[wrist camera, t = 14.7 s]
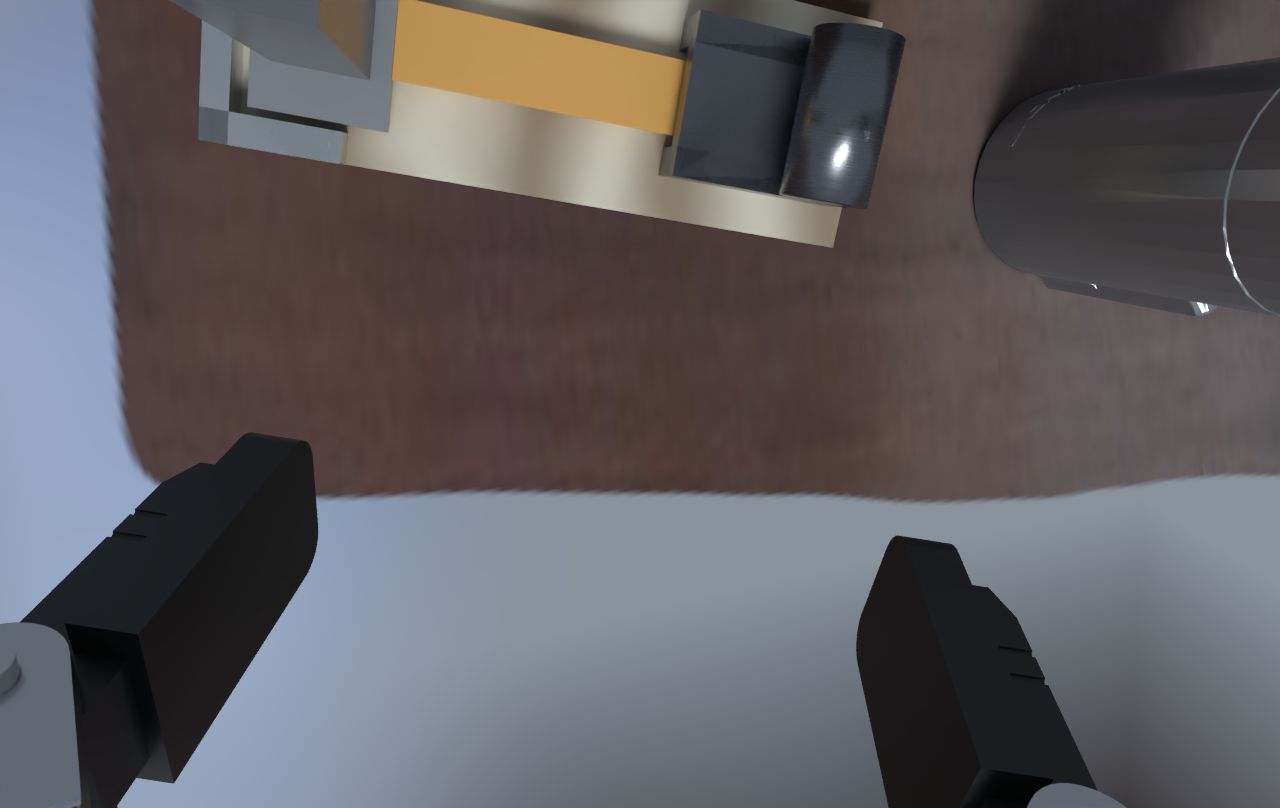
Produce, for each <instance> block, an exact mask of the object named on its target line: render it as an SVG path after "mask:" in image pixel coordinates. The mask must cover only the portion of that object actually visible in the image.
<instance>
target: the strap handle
mask: <svg viewBox="0 0 1280 808" xmlns="http://www.w3.org/2000/svg"><path fill="white" fill-rule="evenodd" d="M170 1H171V2H173V3H175V4H176V5H178V6H180V7H181V8H183V9H185V10H186V11H188V12H190V13H191V14H193V15H195V16H196V17H198V18H200V19H201V20H203V21H205V22H206V23H208V24H210V25H211V26H213V27H215V28H217V29H218V30H220V31H222V32H223V33H225V34H227V35H228V36H230V37H232V38H233V39H235V40H237V41H238V42H240V43H242V44H243V45H245V46H247V47H248V48H250V57H249V78H248V99H247V107H251V108H254V109H258V110H264V111H269V112H275V113H280V114H286V115H291V116H297V117H302V118H308V119H313V120H319V121H324V122H330V123H335V124H341V125H346V126H352V127H357V128H362V129H368V130H373V131H379V132H384V133H389V122H390V111H391V100H392V88H393V81H398V82H403V83H408V84H413V85H418V86H423V87H428V88H433V89H438V90H443V91H448V92H454V93H459V94H464V95H469V96H474V97H479V98H484V99H489V100H494V101H499V102H504V103H509V104H514V105H519V106H524V107H529V108H534V109H539V110H544V111H549V112H554V113H559V114H564V115H569V116H574V117H579V118H585V119H590V120H595V121H600V122H605V123H610V124H615V125H620V126H625V127H630V128H635V129H640V130H645V131H650V132H655V133H660V134H665V135H670V136H673V135H674V129H675V123H676V118H677V112H678V106H679V100H680V94H681V88H682V82H683V76H684V71H685V65H686V61H685V60H680V59H676V58H672V57H667V56H663V55H658V54H654V53H649V52H645V51H640V50H636V49H631V48H627V47H622V46H618V45H613V44H609V43H605V42H600V41H596V40H591V39H587V38H582V37H578V36H573V35H569V34H564V33H560V32H555V31H551V30H547V29H542V28H538V27H533V26H529V25H524V24H520V23H515V22H511V21H506V20H502V19H497V18H493V17H488V16H484V15H480V14H475V13H471V12H466V11H462V10H457V9H453V8H448V7H444V6H439V5H435V4H430V3H426V2H421V1H417V0H170Z"/></svg>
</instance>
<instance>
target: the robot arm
mask: <svg viewBox="0 0 1280 808" xmlns="http://www.w3.org/2000/svg"><path fill="white" fill-rule="evenodd" d="M974 205H975V212H976V218H977V222H978V225H979V228H980V230H981V233H982V236H983V238H984V239H985V241H986V243H987V244H988V246H989V247H990V249H991V250H992V252H993V253H995V254H996V255H997V256H998V257H999V258H1000V259H1001V260H1002V261H1003V262H1004V263H1006V264H1008V265H1010V266H1012V267H1013V268H1015V269H1017V270H1021V271H1025V272H1029V273H1033V274H1036V275H1039V276H1040V278H1041V279H1042V280H1043V281H1044V283H1045V284H1046V286H1047V287H1048V288H1050V289H1055V290H1060V291H1066V292H1071V293H1076V294H1081V295H1086V296H1091V297H1096V298H1102V299H1107V300H1112V301H1117V302H1122V303H1127V304H1132V305H1137V306H1143V307H1148V308H1153V309H1158V310H1163V311H1168V312H1173V313H1178V314H1184V315H1189V316H1197V317H1200V316H1205V315H1207V314H1209V313H1211V312H1212V311H1214V310H1215V309H1216V308H1217V307H1218V306H1221V307H1227V308H1233V309H1238V310H1244V311H1250V312H1256V313H1261V314H1267V315H1273V316H1279V317H1280V57H1278V58H1271V59H1264V60H1257V61H1250V62H1243V63H1236V64H1229V65H1221V66H1214V67H1207V68H1200V69H1193V70H1186V71H1179V72H1172V73H1165V74H1158V75H1151V76H1144V77H1136V78H1129V79H1122V80H1115V81H1108V82H1101V83H1094V84H1087V85H1074V86H1070V87H1066V88H1060V89H1054V90H1049V91H1044V92H1042V93H1040V94H1038V95H1035V96H1033V97H1031V98H1029V99H1027V100H1026V101H1024V102H1023V103H1021V104H1020V105H1019V106H1017V107H1016V108H1015V109H1013V110H1012V111H1011V112H1010V113H1009V114H1008V115H1007V116H1006V117H1005V119H1004V120H1003V121H1002V122H1001V123H1000V124H999V125H998V127H997V128H996V130H995V131H994V133H993V134H992V136H991V137H990V139H989V141H988V142H987V144H986V147H985V149H984V152H983V154H982V156H981V159H980V161H979V165H978V170H977V174H976V179H975V190H974ZM317 541H318V520H317V508H316V493H315V480H314V467H313V455H312V450H311V447H310V445H309V444H308V442H306V441H303V440H296V439H290V438H283V437H277V436H271V435H264V434H258V433H251V432H250V433H247V434H245V435H243V436H242V437H241V438H240V439H239V440H238V441H237V442H236V443H235V444H234V445H233V446H232V447H231V448H230V449H229V451H228V452H227V453H226V454H225V455H224V456H223V457H222V458H221V459H220V460H219V461H218V462H217V463H216V464H215V465H213V464H207V463H199V464H197V465H195V466H193V467H191V468H189V469H187V470H185V471H184V472H182V473H180V474H178V475H176V476H174V477H172V478H170V479H168V480H166V481H164V482H163V483H161V484H160V485H159V486H158V487H157V488H156V489H155V490H154V491H153V492H152V493H151V494H150V495H149V496H148V497H147V498H146V499H145V500H144V501H143V502H142V503H141V504H140V505H139V506H138V507H137V508H136V509H135V513H134V515H131V514H130V515H129V516H128V517H127V518H126V519H125V520H124V521H123V522H122V523H121V524H120V525H119V526H118V527H116V528H115V529H114V530H113V535H112V537H106V538H105V539H104V540H103V541H102V542H101V543H100V544H99V545H98V546H97V547H96V548H95V549H94V550H93V551H92V552H91V553H90V554H89V555H88V556H87V557H86V558H85V559H84V560H83V561H82V562H81V563H80V564H79V565H78V566H77V567H76V568H75V569H74V570H73V571H72V572H71V573H70V574H69V575H68V576H67V577H66V578H65V579H64V580H63V581H61V582H60V583H59V584H58V585H57V586H56V587H55V588H54V589H53V590H52V591H51V593H49V594H48V595H47V596H46V597H45V598H44V599H43V600H42V601H41V602H40V603H39V604H38V605H37V606H36V607H35V608H34V609H33V610H32V611H31V612H30V613H29V614H28V615H27V616H26V617H25V618H24V619H23V620H22V621H21V622H19V623H6V624H0V808H118V807H117V805H118V804H119V802H120V801H121V799H122V798H123V796H124V795H125V793H126V792H127V790H128V789H129V787H130V786H131V785H132V783H133V781H134V780H135V779H136V778H142V779H148V780H154V781H161V782H167V783H174V782H175V781H176V779H177V778H178V776H179V775H180V773H181V771H182V770H183V768H184V767H185V765H186V764H187V762H188V761H189V759H190V757H191V755H192V754H193V753H194V751H195V749H196V748H197V746H198V744H199V743H200V742H201V740H202V738H203V737H204V735H205V734H206V732H207V731H208V729H209V728H210V726H211V724H212V723H213V721H214V719H215V718H216V717H217V715H218V713H219V712H220V710H221V709H222V707H223V706H224V704H225V702H226V701H227V699H228V698H229V696H230V695H231V693H232V691H233V690H234V688H235V687H236V685H237V684H238V682H239V680H240V679H241V677H242V676H243V674H244V673H245V671H246V669H247V668H248V666H249V665H250V663H251V661H252V660H253V658H254V657H255V655H256V654H257V652H258V651H259V649H260V647H261V646H262V644H263V643H264V641H265V640H266V638H267V636H268V635H269V633H270V632H271V630H272V629H273V627H274V625H275V624H276V622H277V621H278V619H279V618H280V616H281V614H282V613H283V611H284V610H285V608H286V607H287V605H288V603H289V602H290V600H291V599H292V597H293V596H294V594H295V592H296V591H297V589H298V588H299V586H300V585H301V583H302V582H303V580H304V578H305V577H306V575H307V573H308V571H309V569H310V567H311V564H312V562H313V559H314V556H315V552H316V547H317ZM856 652H857V662H858V667H859V672H860V677H861V681H862V685H863V691H864V695H865V699H866V704H867V709H868V713H869V718H870V723H871V728H872V732H873V737H874V742H875V746H876V750H877V756H878V760H879V765H880V769H881V774H882V779H883V783H884V788H885V793H886V797H887V802H888V807H889V808H1126V807H1125V806H1123V805H1122V804H1120V803H1119V802H1117V801H1115V800H1114V799H1112V798H1110V797H1109V796H1107V795H1105V794H1103V793H1101V792H1098V790H1097V789H1096V786H1095V784H1094V782H1093V780H1092V778H1091V776H1090V773H1089V771H1088V769H1087V767H1086V765H1085V763H1084V761H1083V759H1082V756H1081V754H1080V752H1079V750H1078V748H1077V746H1076V743H1075V741H1074V739H1073V737H1072V736H1071V733H1070V731H1069V728H1068V726H1067V724H1066V722H1065V720H1064V718H1063V716H1062V714H1061V711H1060V709H1059V707H1058V705H1057V703H1056V701H1055V699H1054V696H1053V695H1052V692H1051V690H1050V688H1049V686H1048V685H1045V683H1044V680H1045V677H1044V675H1043V673H1042V671H1041V669H1040V667H1039V665H1038V662H1037V660H1036V658H1034V657H1032V649H1031V647H1030V645H1029V643H1028V641H1027V639H1026V637H1025V635H1024V632H1023V630H1022V628H1021V626H1020V624H1019V622H1018V620H1017V618H1016V617H1015V616H1014V615H1013V613H1012V612H1011V611H1010V610H1009V609H1008V608H1007V607H1006V606H1005V605H1004V604H1003V603H1002V602H1001V601H1000V600H999V598H998V597H996V595H995V594H994V593H993V592H992V591H991V590H990V589H989V588H988V587H981V586H975V585H972V584H971V581H970V579H969V577H968V574H967V572H966V569H965V567H964V565H963V562H962V560H961V558H960V555H959V553H958V551H957V549H956V548H955V546H953V545H952V544H948V543H942V542H936V541H929V540H923V539H916V538H910V537H903V536H895V537H893V538H892V540H891V541H890V543H889V544H888V547H887V549H886V551H885V554H884V557H883V559H882V562H881V565H880V567H879V570H878V572H877V575H876V578H875V580H874V583H873V585H872V588H871V591H870V593H869V597H868V599H867V601H866V604H865V607H864V609H863V612H862V614H861V618H860V621H859V626H858V632H857V642H856Z"/></svg>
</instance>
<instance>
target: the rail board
mask: <svg viewBox="0 0 1280 808" xmlns="http://www.w3.org/2000/svg"><path fill="white" fill-rule="evenodd" d="M417 1H421V2H426V3H430V4H435V5H439V6H444V7H448V8H453V9H457V10H462V11H466V12H471V13H475V14H480V15H484V16H488V17H493V18H497V19H502V20H506V21H511V22H515V23H520V24H524V25H529V26H533V27H538V28H542V29H547V30H551V31H555V32H560V33H564V34H569V35H573V36H578V37H582V38H587V39H591V40H596V41H600V42H605V43H609V44H613V45H618V46H622V47H627V48H631V49H636V50H640V51H645V52H649V53H654V54H658V55H663V56H667V57H672V58H676V59H680V60H685V61H686V59H687V52H682V51H679V50H680V44H681V38H682V32H683V26H684V21H685V20H686V19H688V18H689V17H691V16H692V15H694V14H695V13H697V12H698V11H700V10H705V11H710V12H714V13H718V14H722V15H726V16H730V17H734V18H738V19H743V20H747V21H751V22H755V23H759V24H763V25H767V26H772V27H776V28H780V29H784V30H788V31H792V32H796V33H800V34H805V35H809V36H811V35H812V30H813V28H814V27H815V26H817V25H820V24H824V23H857V24H864V25H871V26H876V27H880V28H882V25H883V23H881V22H877V21H873V20H869V19H865V18H861V17H857V16H853V15H850V14H846V13H842V12H838V11H834V10H830V9H826V8H822V7H818V6H814V5H810V4H806V3H802V2H798V1H794V0H417ZM249 57H250V48H248V47H247V46H245V45H244V47H243V69H242V91H241V113H240V114H246V115H251V116H257V117H263V118H268V119H274V120H279V121H285V122H290V123H296V124H301V125H307V126H312V127H318V128H324V129H329V130H335V131H340V132H344V133H347V134H348V140H347V153H346V165H352V166H358V167H364V168H369V169H375V170H381V171H387V172H393V173H399V174H405V175H410V176H416V177H422V178H428V179H434V180H440V181H445V182H451V183H457V184H463V185H469V186H475V187H481V188H486V189H492V190H498V191H504V192H510V193H516V194H522V195H527V196H533V197H539V198H545V199H551V200H557V201H562V202H568V203H574V204H580V205H586V206H592V207H598V208H603V209H609V210H615V211H621V212H627V213H633V214H638V215H644V216H650V217H656V218H662V219H668V220H674V221H679V222H685V223H691V224H697V225H703V226H709V227H715V228H720V229H726V230H732V231H738V232H744V233H750V234H755V235H761V236H767V237H773V238H779V239H785V240H791V241H796V242H802V243H808V244H814V245H820V246H826V247H832V248H833V244H834V240H835V235H836V231H837V226H838V222H839V218H840V213H841V209H842V208H841V207H830V206H821V205H815V204H810V203H804V202H799V201H793V200H788V199H783V198H777V197H772V196H766V195H761V194H756V193H750V192H745V191H739V190H734V189H728V188H723V187H718V186H712V185H707V184H701V183H696V182H691V181H685V180H680V179H674V178H669V177H663V176H658V175H659V169H660V163H661V157H662V151H663V147H671V146H672V141H673V136H670V135H665V134H660V133H655V132H650V131H645V130H640V129H635V128H630V127H625V126H620V125H615V124H610V123H605V122H600V121H595V120H590V119H585V118H579V117H574V116H569V115H564V114H559V113H554V112H549V111H544V110H539V109H534V108H529V107H524V106H519V105H514V104H509V103H504V102H499V101H494V100H489V99H484V98H479V97H474V96H469V95H464V94H459V93H454V92H448V91H443V90H438V89H433V88H428V87H423V86H418V85H413V84H408V83H403V82H398V81H393V88H392V100H391V111H390V122H389V133H384V132H379V131H373V130H368V129H362V128H357V127H352V126H346V125H341V124H335V123H330V122H324V121H319V120H313V119H308V118H302V117H297V116H291V115H286V114H280V113H275V112H269V111H264V110H258V109H254V108H251V107H247V99H248V78H249Z"/></svg>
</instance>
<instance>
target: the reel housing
mask: <svg viewBox="0 0 1280 808" xmlns="http://www.w3.org/2000/svg"><path fill="white" fill-rule="evenodd" d="M905 42H906V40H905V38H904V37H903V36H902V35H900V34H898V33H896V32H893V31H891V30H888V29H884V28H880V27H876V26H871V25H864V24H857V23H824V24H820V25H817V26H815V27H814V28H813V30H812V35H811V36H809V35H805V34H800V33H796V32H792V31H788V30H784V29H780V28H776V27H772V26H767V25H763V24H759V23H755V22H751V21H747V20H743V19H738V18H734V17H730V16H726V15H722V14H718V13H714V12H710V11H705V10H700V11H698V12H697V13H695V14H694V15H692V16H691V17H689V18H688V19H686V20H685V21H684V26H683V32H682V38H681V44H680V50H679V51H682V52H687V59H686V65H685V71H684V76H683V82H682V88H681V94H680V100H679V106H678V112H677V118H676V123H675V129H674V135H673V141H672V146H671V147H663V151H662V157H661V163H660V169H659V175H658V176H663V177H669V178H674V179H680V180H685V181H691V182H696V183H701V184H707V185H712V186H718V187H723V188H728V189H734V190H739V191H745V192H750V193H756V194H761V195H766V196H772V197H777V198H783V199H788V200H793V201H799V202H804V203H810V204H815V205H821V206H830V207H841V208H846V207H850V208H858V209H867V206H868V202H869V198H870V193H871V189H872V185H873V180H874V176H875V172H876V167H877V163H878V159H879V154H880V150H881V146H882V141H883V137H884V133H885V128H886V124H887V120H888V115H889V111H890V107H891V102H892V98H893V94H894V89H895V85H896V81H897V76H898V72H899V68H900V63H901V59H902V55H903V50H904V46H905Z"/></svg>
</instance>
